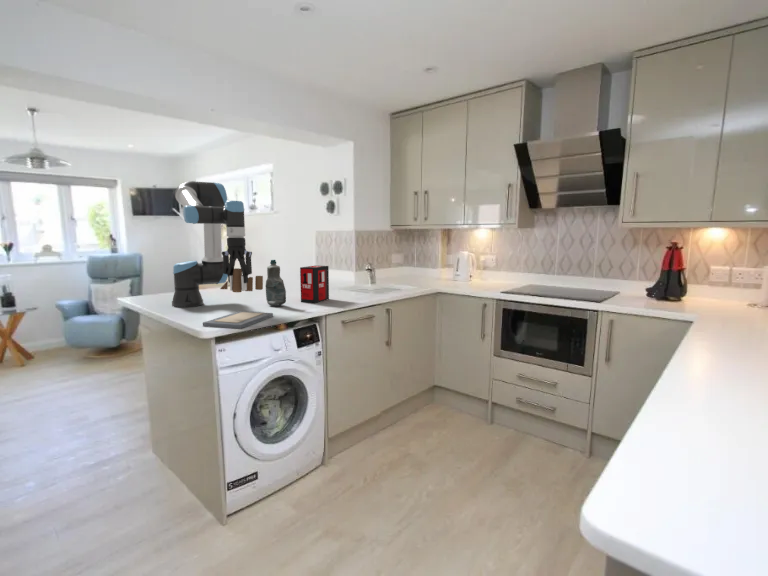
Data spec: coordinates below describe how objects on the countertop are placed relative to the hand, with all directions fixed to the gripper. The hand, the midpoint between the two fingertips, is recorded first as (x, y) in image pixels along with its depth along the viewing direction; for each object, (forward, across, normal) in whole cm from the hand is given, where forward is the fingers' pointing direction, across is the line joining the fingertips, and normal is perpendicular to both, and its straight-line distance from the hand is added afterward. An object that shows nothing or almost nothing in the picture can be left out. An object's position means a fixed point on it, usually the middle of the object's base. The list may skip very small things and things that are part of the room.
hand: (238, 290), depth 176 cm
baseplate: (+14, 0, 0) cm, 14 cm away
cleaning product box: (+14, +10, +60) cm, 62 cm away
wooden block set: (+2, 0, +3) cm, 3 cm away
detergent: (+14, -4, +38) cm, 41 cm away
